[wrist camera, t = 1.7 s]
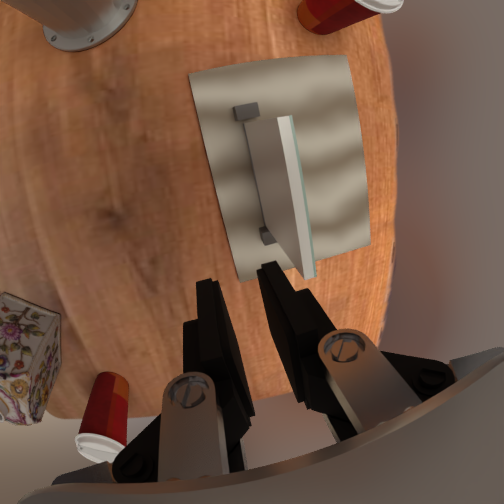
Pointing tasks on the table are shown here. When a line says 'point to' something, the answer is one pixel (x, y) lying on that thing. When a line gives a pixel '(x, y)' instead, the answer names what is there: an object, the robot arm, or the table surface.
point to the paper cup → (340, 13)
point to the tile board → (309, 145)
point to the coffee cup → (105, 419)
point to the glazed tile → (282, 188)
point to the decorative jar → (27, 359)
